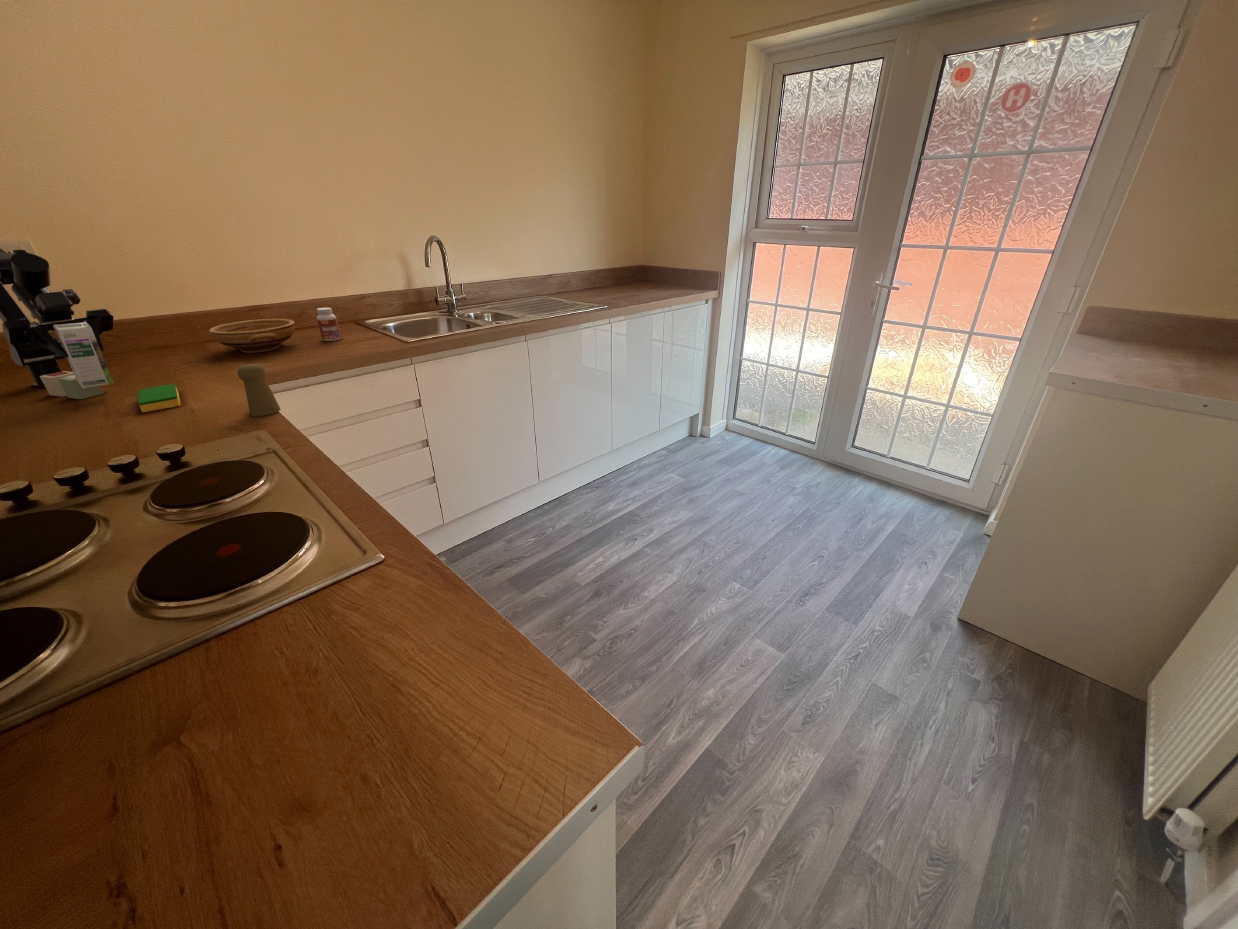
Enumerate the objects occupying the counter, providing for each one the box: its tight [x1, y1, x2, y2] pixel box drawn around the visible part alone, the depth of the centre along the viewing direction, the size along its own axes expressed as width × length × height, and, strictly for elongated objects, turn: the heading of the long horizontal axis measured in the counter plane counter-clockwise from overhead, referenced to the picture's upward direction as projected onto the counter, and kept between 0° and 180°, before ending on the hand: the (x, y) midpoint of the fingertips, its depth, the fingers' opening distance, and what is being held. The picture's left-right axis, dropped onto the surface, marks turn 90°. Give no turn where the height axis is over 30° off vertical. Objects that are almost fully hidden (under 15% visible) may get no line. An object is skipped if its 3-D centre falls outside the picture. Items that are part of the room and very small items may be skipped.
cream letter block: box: [40, 370, 74, 398], centre depth 129 cm, size 5×5×5 cm
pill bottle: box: [316, 307, 342, 342], centre depth 181 cm, size 6×6×11 cm
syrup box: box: [53, 322, 114, 389], centre depth 121 cm, size 6×6×14 cm
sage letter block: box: [59, 375, 104, 400], centre depth 127 cm, size 5×5×5 cm
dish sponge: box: [137, 383, 182, 413], centre depth 122 cm, size 7×14×2 cm, turn 40°
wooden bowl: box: [208, 318, 296, 354], centre depth 171 cm, size 30×24×8 cm
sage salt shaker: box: [237, 363, 281, 417], centre depth 113 cm, size 6×6×11 cm
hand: (85, 353), depth 120 cm, fingers closed on syrup box, 6 cm apart
